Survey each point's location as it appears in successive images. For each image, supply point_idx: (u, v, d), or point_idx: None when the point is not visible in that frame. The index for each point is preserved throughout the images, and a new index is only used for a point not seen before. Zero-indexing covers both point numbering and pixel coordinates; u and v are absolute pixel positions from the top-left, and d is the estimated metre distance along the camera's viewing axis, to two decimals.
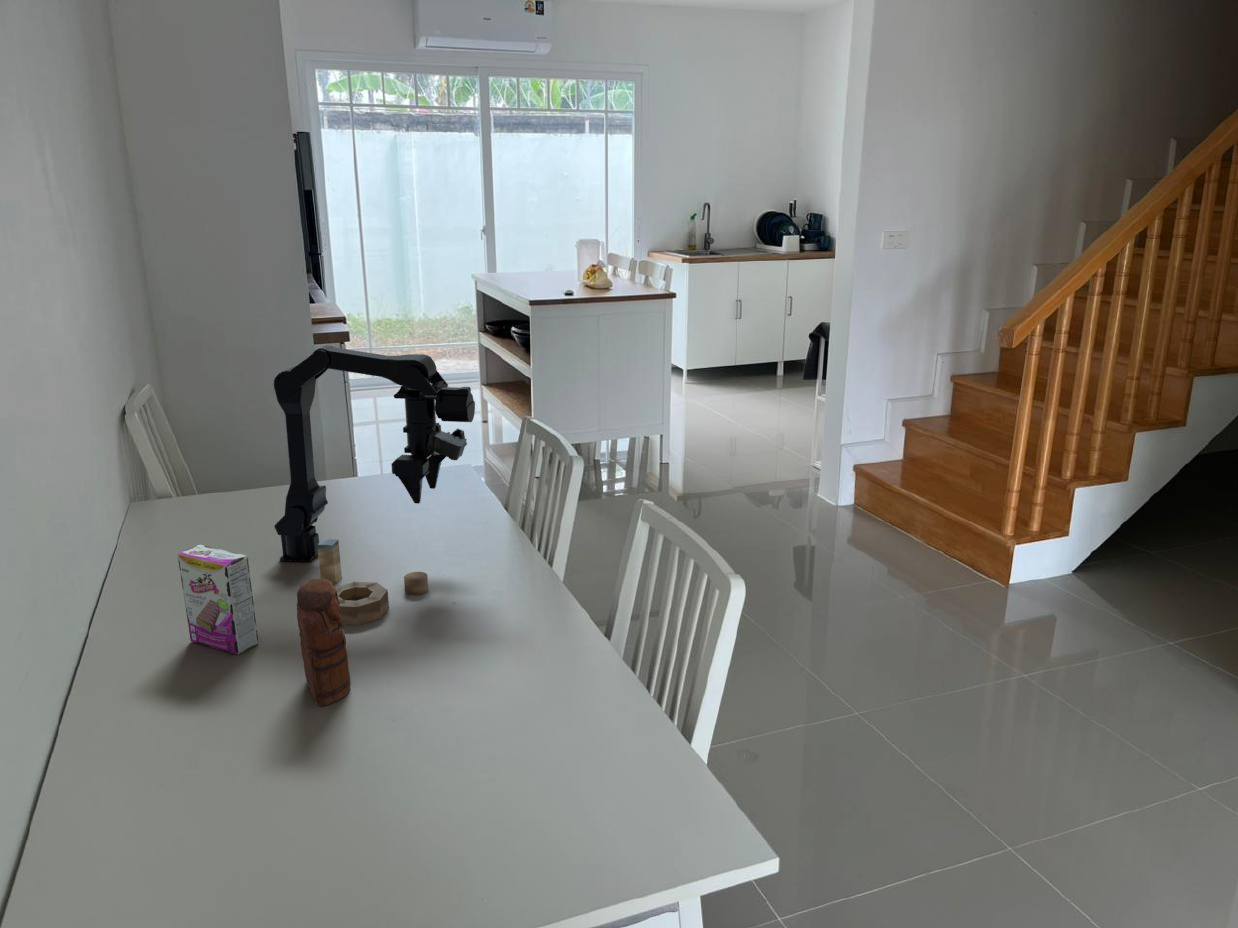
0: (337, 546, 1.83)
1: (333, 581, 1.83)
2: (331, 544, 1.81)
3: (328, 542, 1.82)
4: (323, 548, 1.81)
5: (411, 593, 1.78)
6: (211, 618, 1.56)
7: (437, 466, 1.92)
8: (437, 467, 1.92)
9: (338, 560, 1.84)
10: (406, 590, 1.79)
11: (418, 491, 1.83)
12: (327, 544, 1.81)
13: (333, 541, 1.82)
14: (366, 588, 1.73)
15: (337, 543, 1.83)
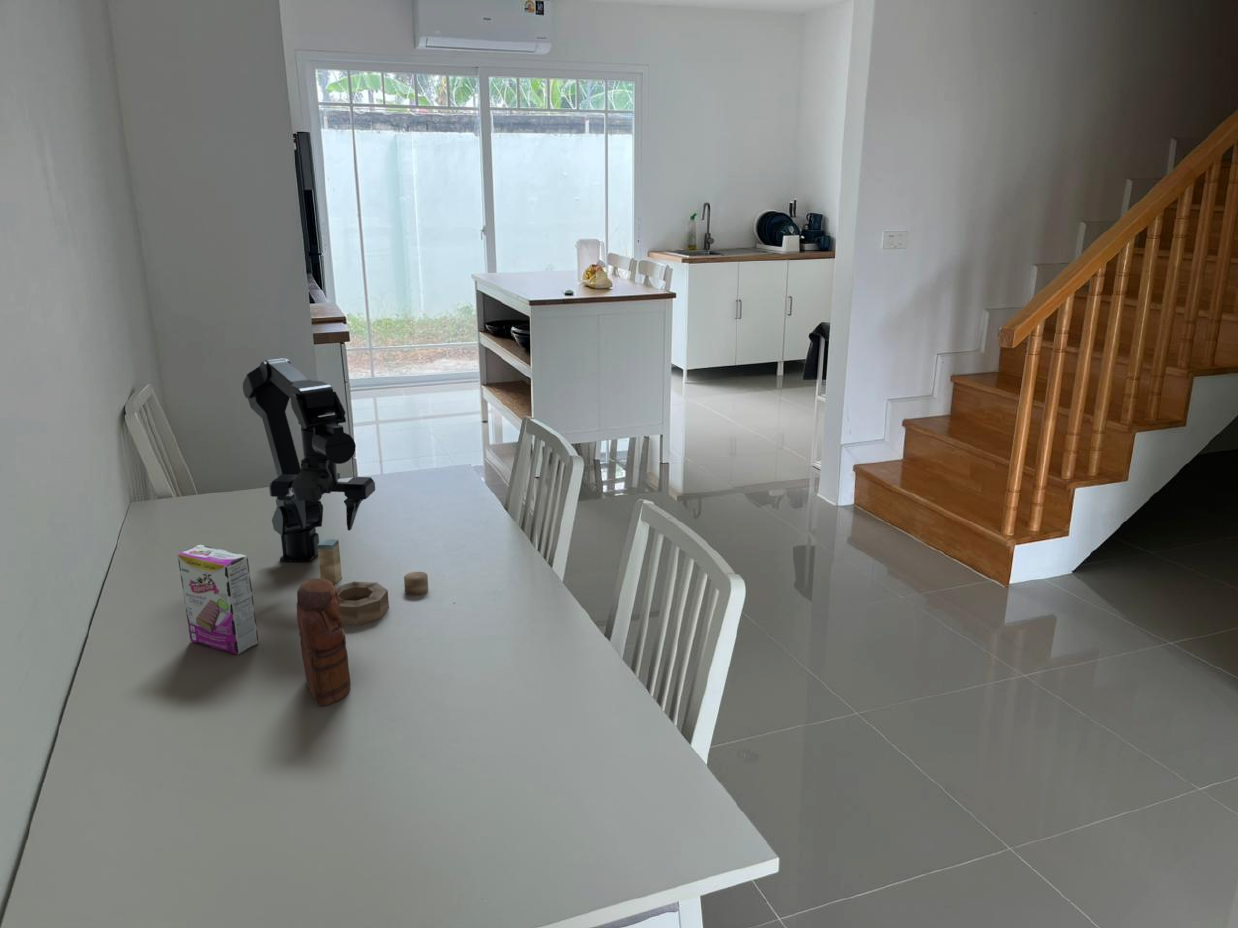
0: (337, 546, 1.83)
1: (333, 581, 1.83)
2: (331, 544, 1.81)
3: (328, 542, 1.82)
4: (323, 548, 1.81)
5: (411, 593, 1.78)
6: (211, 618, 1.56)
7: None
8: None
9: (338, 560, 1.84)
10: (406, 590, 1.79)
11: None
12: (327, 544, 1.81)
13: (333, 541, 1.82)
14: (366, 588, 1.73)
15: (337, 543, 1.83)
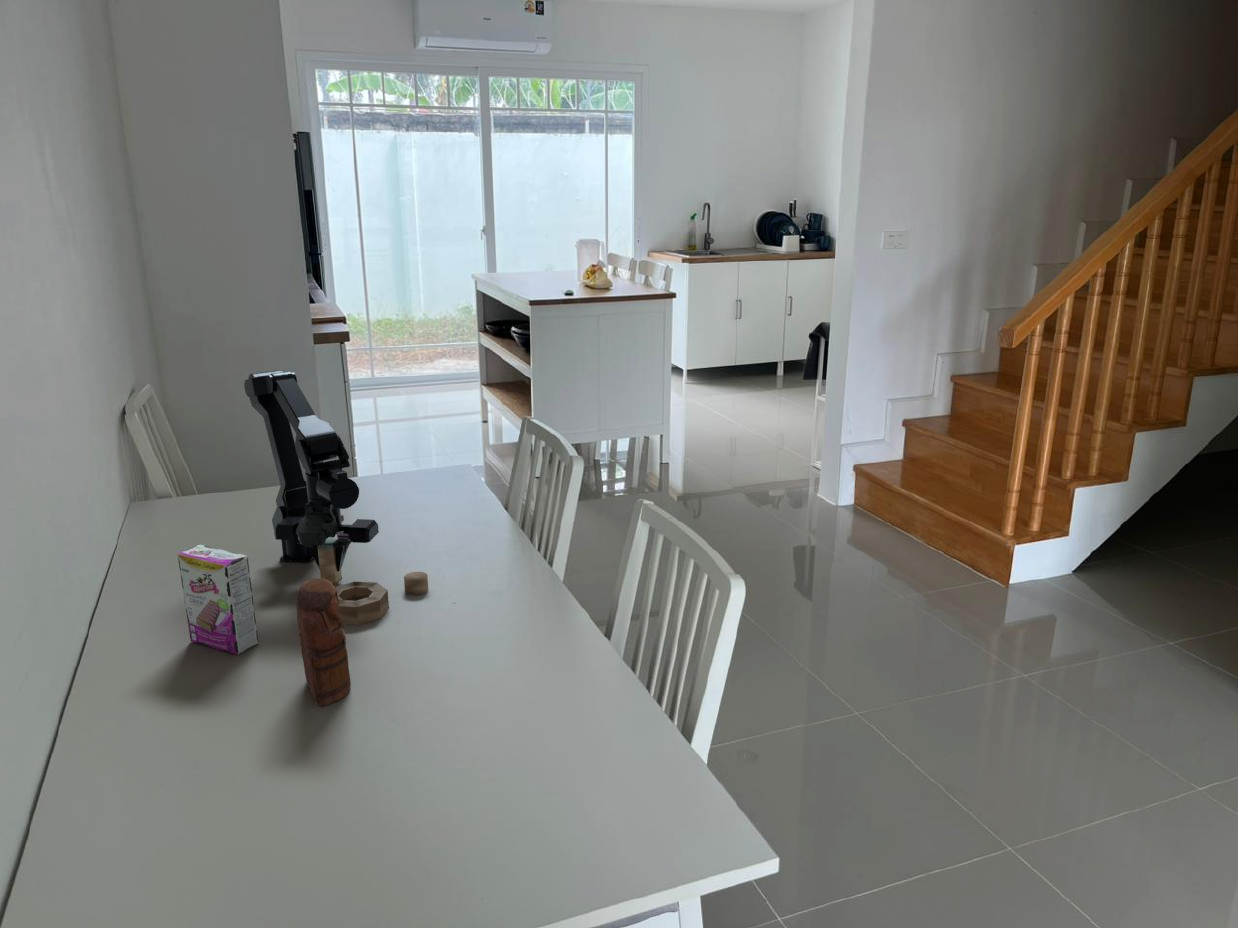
0: None
1: (333, 581, 1.83)
2: (331, 544, 1.81)
3: (328, 542, 1.82)
4: (323, 548, 1.81)
5: (411, 593, 1.78)
6: (211, 618, 1.56)
7: None
8: None
9: None
10: (406, 590, 1.79)
11: None
12: (327, 544, 1.81)
13: (333, 541, 1.82)
14: (366, 588, 1.73)
15: None
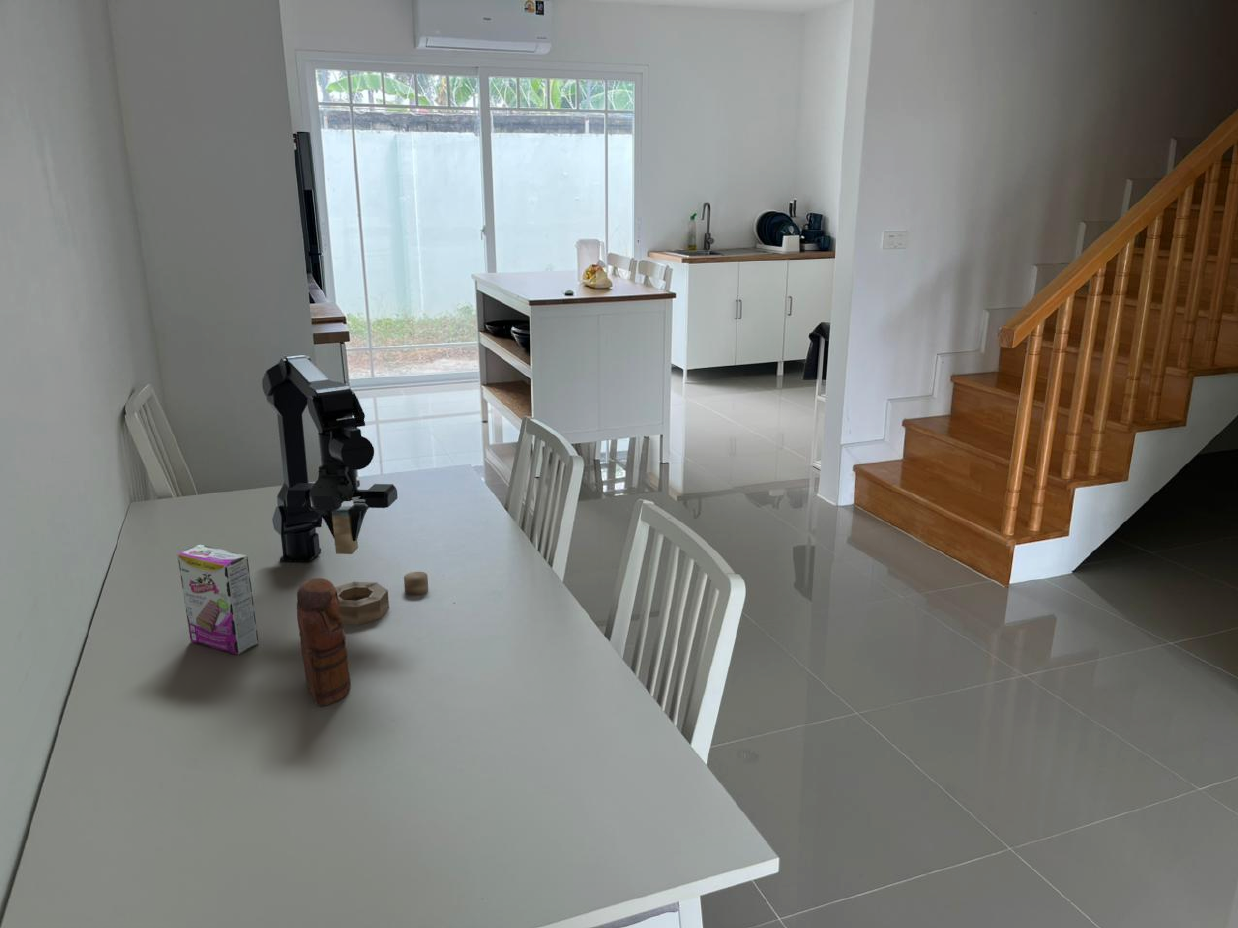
0: None
1: (349, 551, 1.69)
2: (346, 511, 1.68)
3: (343, 509, 1.69)
4: (338, 515, 1.68)
5: (411, 593, 1.78)
6: (211, 618, 1.56)
7: None
8: None
9: None
10: (406, 590, 1.79)
11: None
12: (342, 511, 1.68)
13: (348, 508, 1.69)
14: (366, 588, 1.73)
15: None
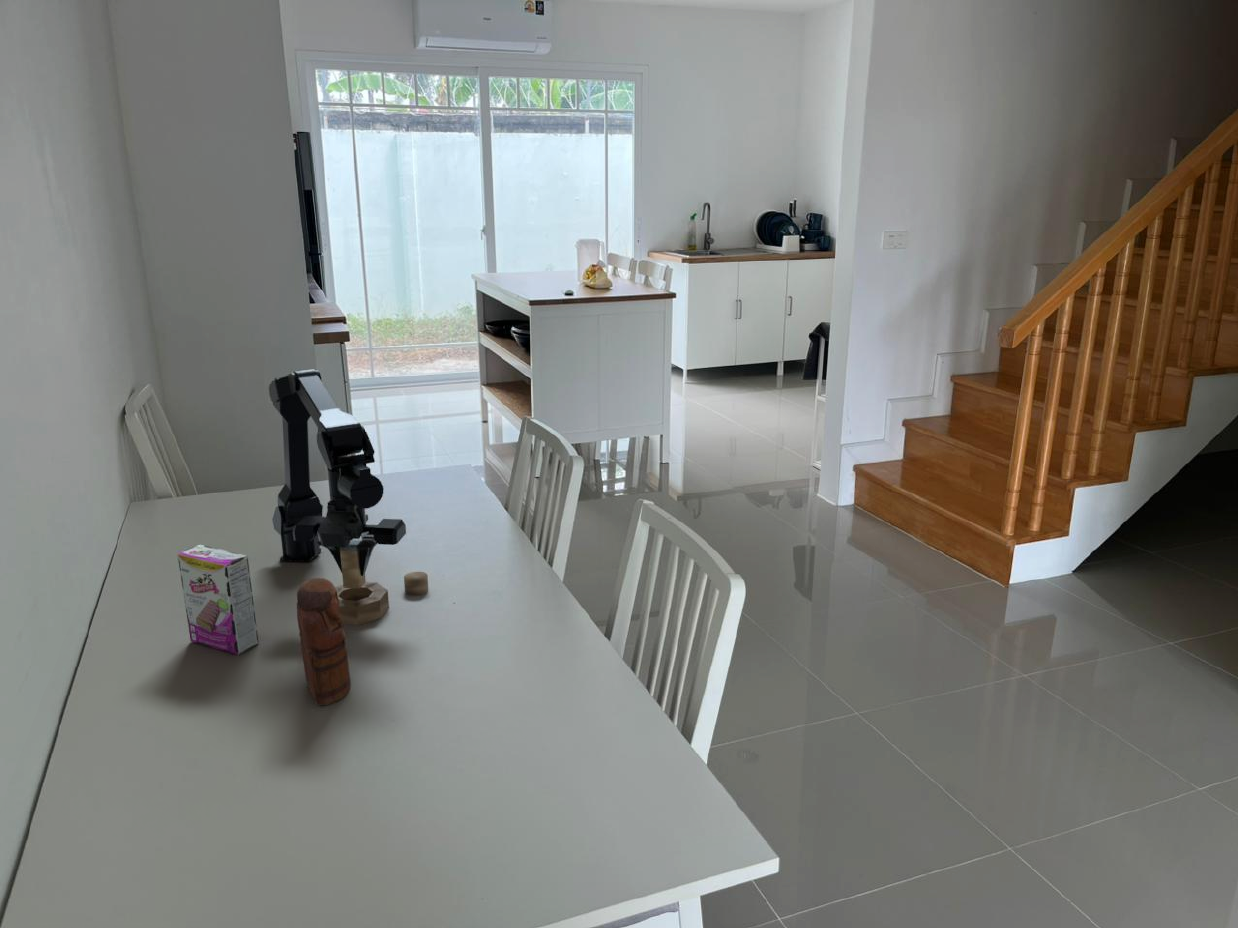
0: None
1: (356, 586, 1.68)
2: (355, 546, 1.66)
3: (352, 543, 1.67)
4: (346, 550, 1.66)
5: (411, 593, 1.78)
6: (211, 618, 1.56)
7: None
8: None
9: None
10: (406, 590, 1.79)
11: None
12: (350, 546, 1.66)
13: (357, 543, 1.68)
14: (366, 588, 1.73)
15: None
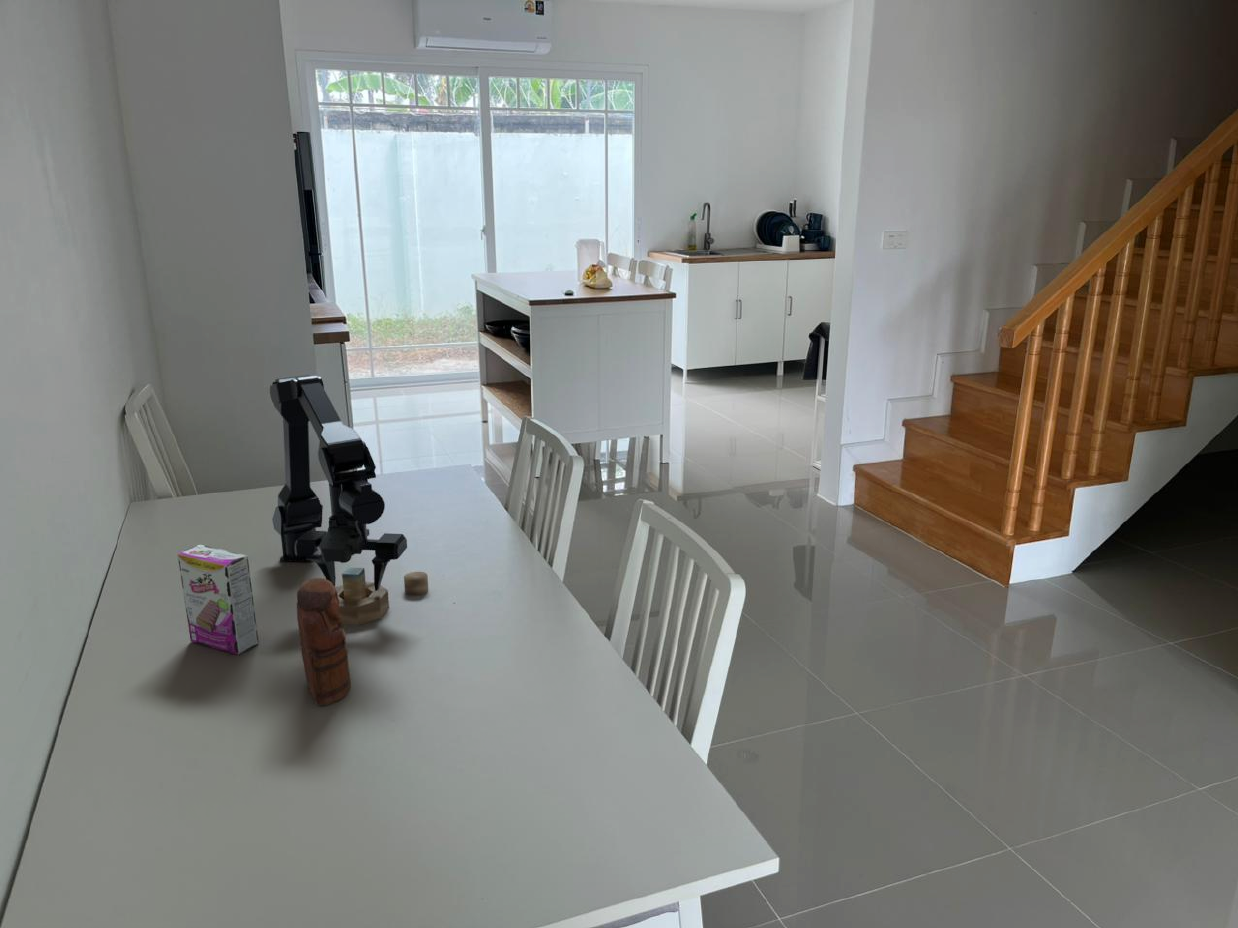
0: (363, 575, 1.70)
1: None
2: (357, 573, 1.68)
3: (354, 571, 1.69)
4: (348, 578, 1.68)
5: (411, 593, 1.78)
6: (211, 618, 1.56)
7: None
8: None
9: (364, 590, 1.71)
10: (406, 590, 1.79)
11: None
12: (352, 573, 1.68)
13: (359, 570, 1.69)
14: (366, 588, 1.73)
15: (363, 572, 1.70)
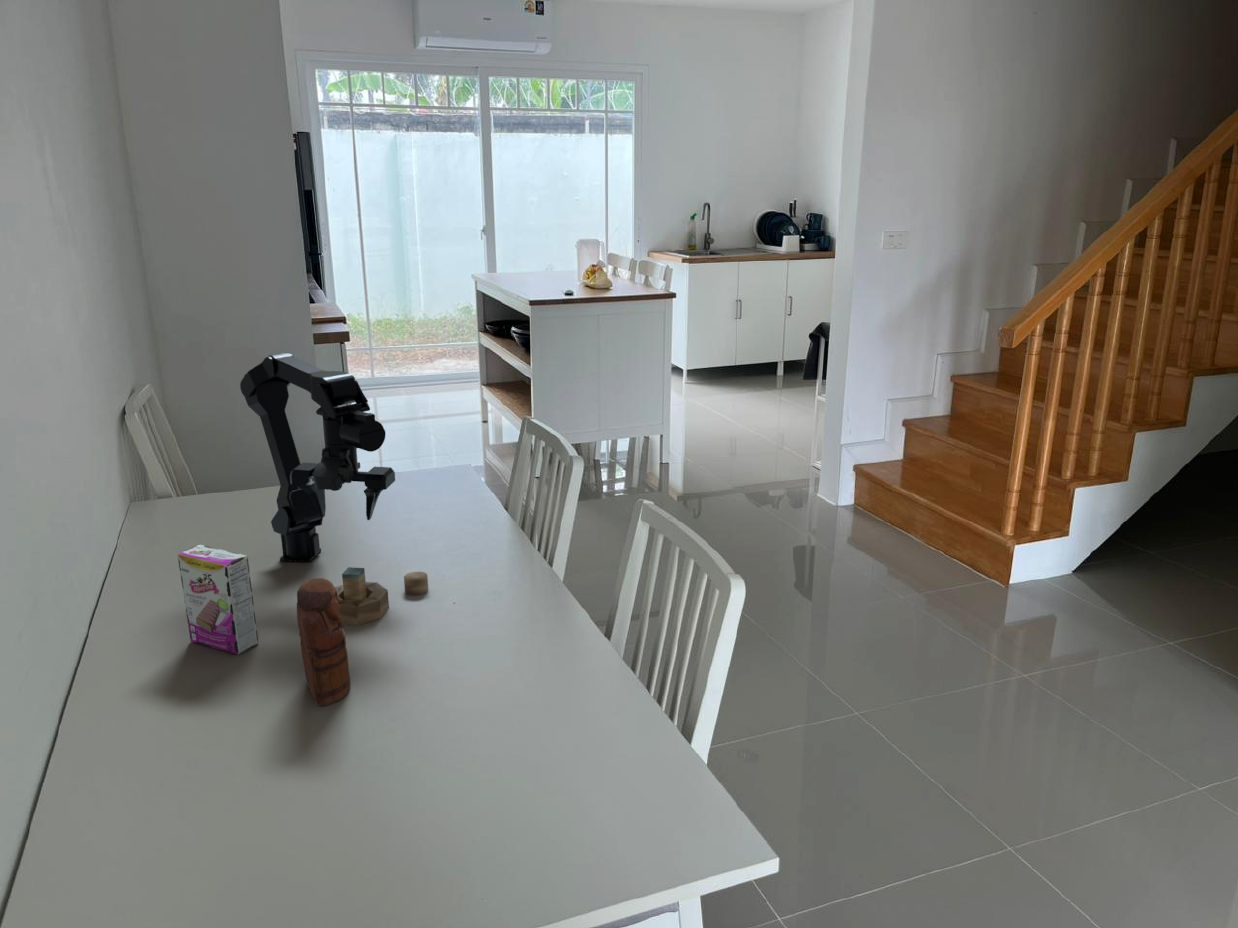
0: (363, 575, 1.70)
1: None
2: (357, 573, 1.68)
3: (354, 571, 1.69)
4: (348, 578, 1.68)
5: (411, 593, 1.78)
6: (211, 618, 1.56)
7: None
8: None
9: (364, 590, 1.71)
10: (406, 590, 1.79)
11: None
12: (352, 573, 1.68)
13: (359, 570, 1.69)
14: (366, 588, 1.73)
15: (363, 572, 1.70)
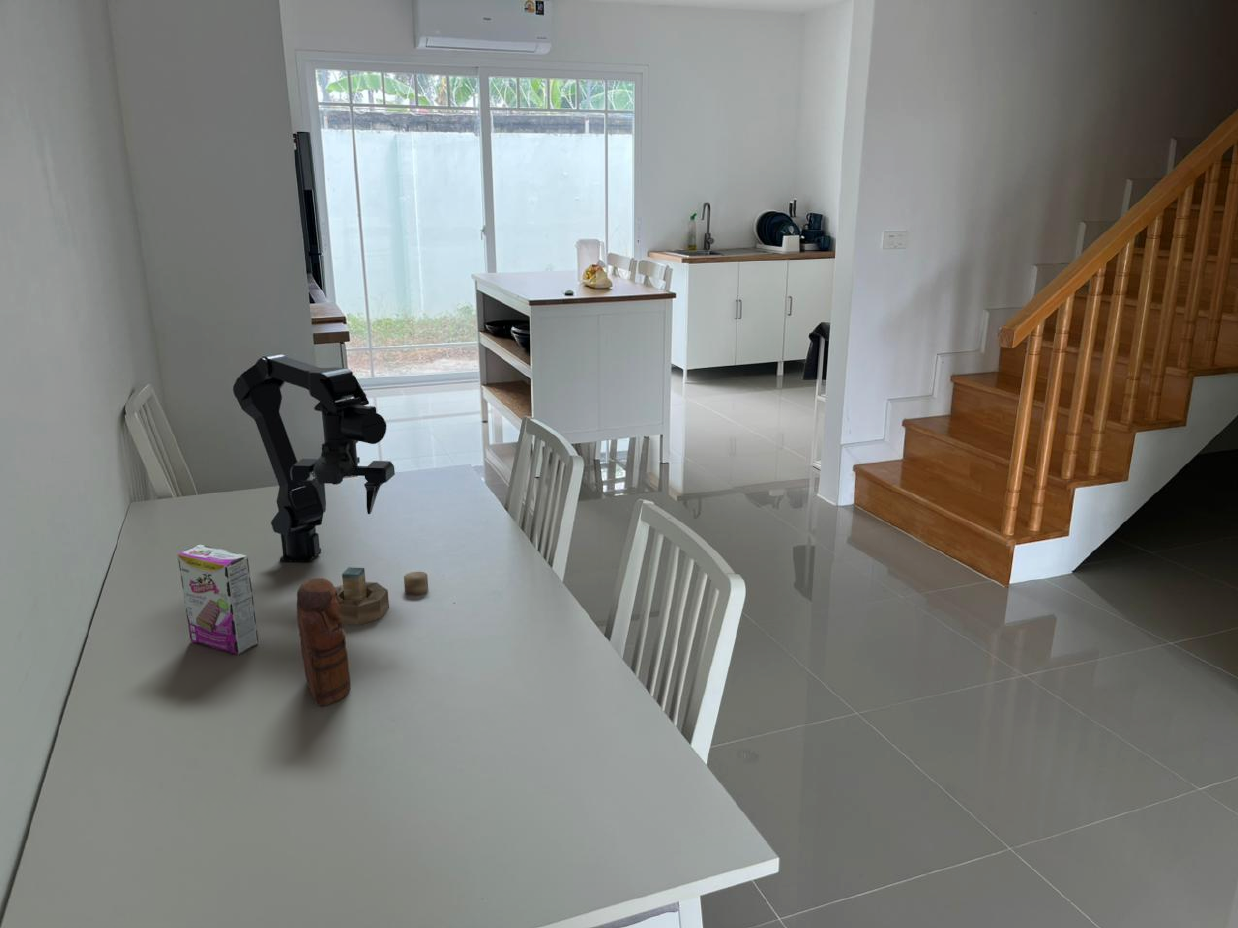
0: (363, 575, 1.70)
1: None
2: (357, 573, 1.68)
3: (354, 571, 1.69)
4: (348, 578, 1.68)
5: (411, 593, 1.78)
6: (211, 618, 1.56)
7: None
8: None
9: (364, 590, 1.71)
10: (406, 590, 1.79)
11: None
12: (352, 573, 1.68)
13: (359, 570, 1.69)
14: (366, 588, 1.73)
15: (363, 572, 1.70)
